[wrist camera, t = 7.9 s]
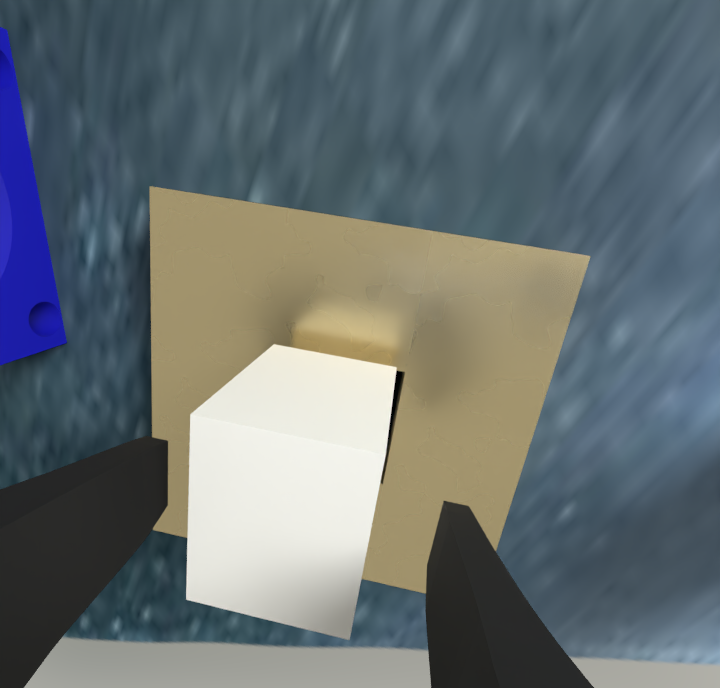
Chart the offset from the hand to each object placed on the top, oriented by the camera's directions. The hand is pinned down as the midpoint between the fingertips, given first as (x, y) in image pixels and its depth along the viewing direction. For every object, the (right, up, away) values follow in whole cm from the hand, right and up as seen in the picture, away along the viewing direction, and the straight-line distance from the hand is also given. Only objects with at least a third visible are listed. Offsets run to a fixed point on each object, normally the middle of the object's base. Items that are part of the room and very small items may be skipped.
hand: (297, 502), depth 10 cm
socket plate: (+1, +2, +7) cm, 7 cm away
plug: (+1, +2, +6) cm, 7 cm away
